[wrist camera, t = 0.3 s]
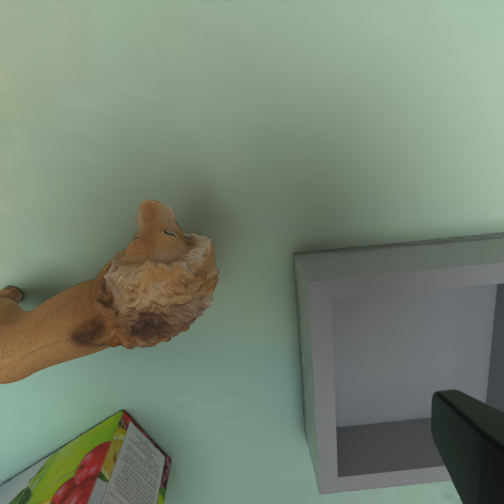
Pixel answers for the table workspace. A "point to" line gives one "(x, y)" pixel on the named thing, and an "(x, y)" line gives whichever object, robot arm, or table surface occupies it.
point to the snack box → (96, 470)
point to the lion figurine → (114, 300)
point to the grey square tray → (395, 352)
